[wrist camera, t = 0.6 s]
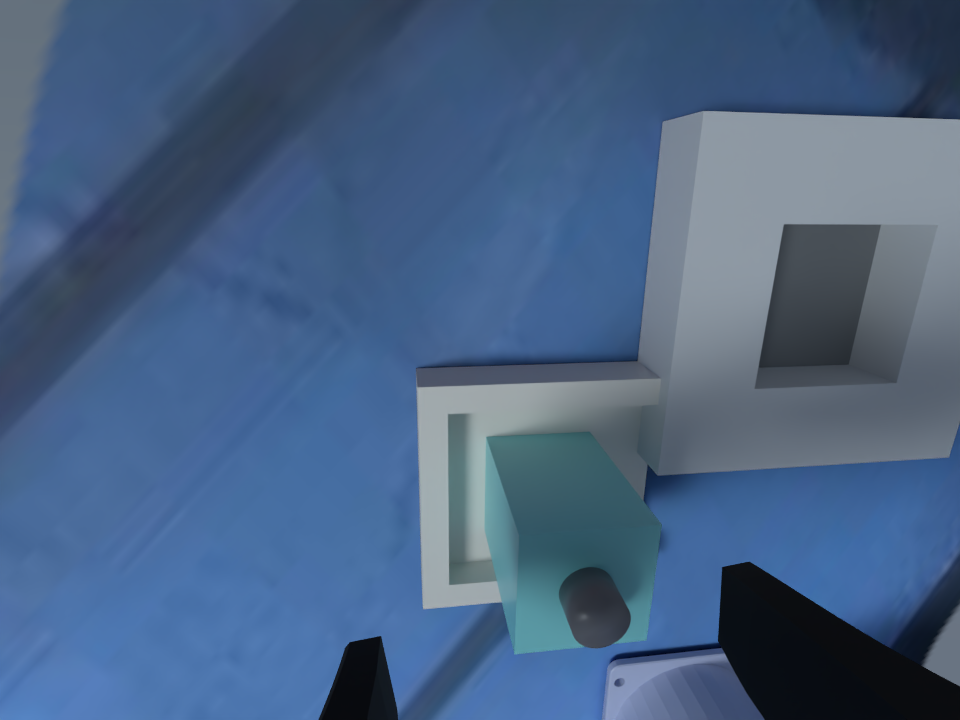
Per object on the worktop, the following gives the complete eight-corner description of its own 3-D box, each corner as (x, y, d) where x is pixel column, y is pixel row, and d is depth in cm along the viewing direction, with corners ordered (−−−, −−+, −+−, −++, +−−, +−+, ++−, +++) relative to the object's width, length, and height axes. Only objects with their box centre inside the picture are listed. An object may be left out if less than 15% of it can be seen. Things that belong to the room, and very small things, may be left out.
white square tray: (627, 556, 23) (647, 588, 22) (421, 573, 22) (423, 609, 20) (650, 360, 21) (674, 378, 19) (415, 368, 19) (417, 387, 18)
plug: (582, 521, 22) (665, 674, 15) (484, 529, 21) (523, 691, 14) (589, 431, 20) (683, 552, 14) (485, 436, 20) (529, 565, 13)
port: (891, 429, 23) (948, 457, 21) (628, 443, 22) (657, 475, 19) (971, 131, 20) (1051, 122, 17) (662, 121, 18) (703, 111, 16)
